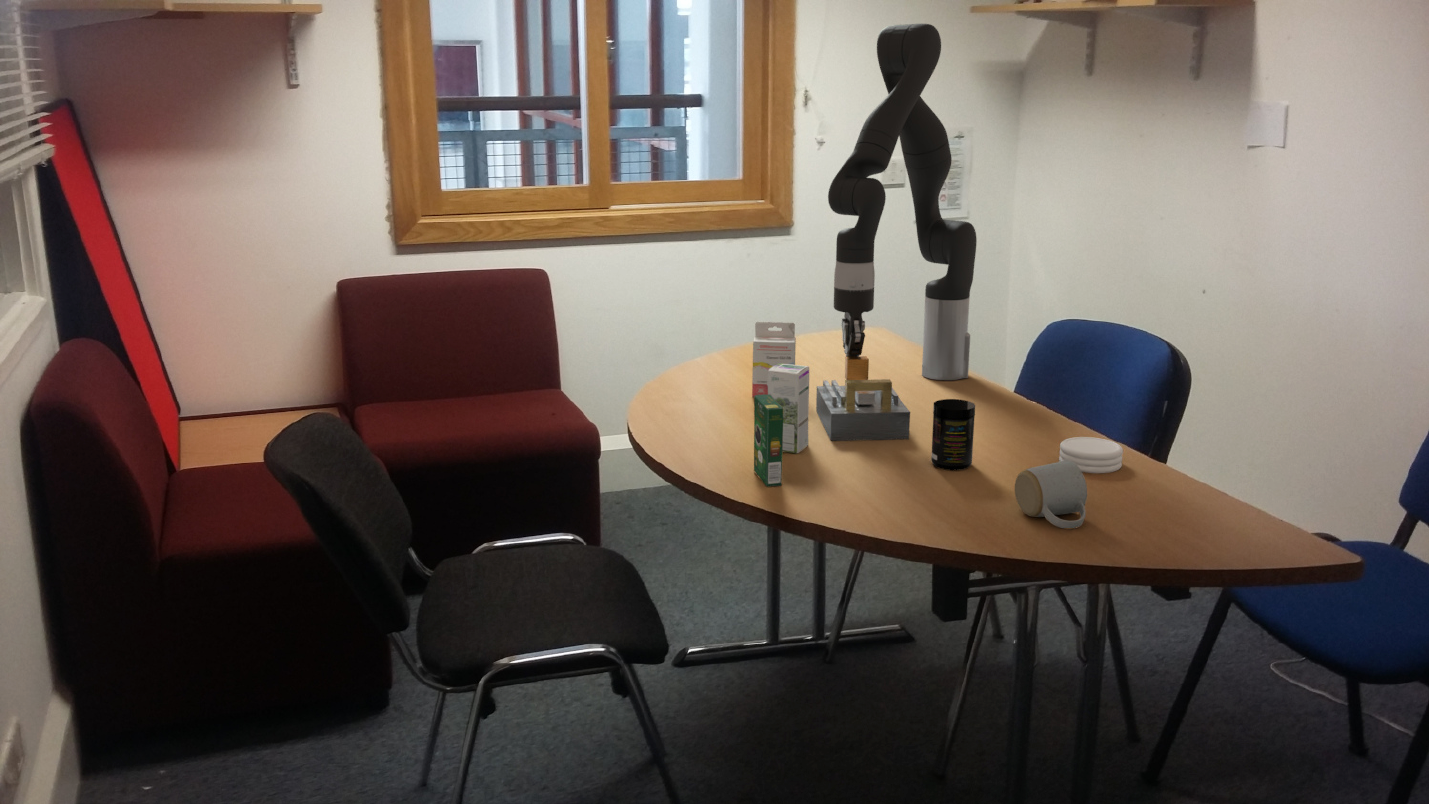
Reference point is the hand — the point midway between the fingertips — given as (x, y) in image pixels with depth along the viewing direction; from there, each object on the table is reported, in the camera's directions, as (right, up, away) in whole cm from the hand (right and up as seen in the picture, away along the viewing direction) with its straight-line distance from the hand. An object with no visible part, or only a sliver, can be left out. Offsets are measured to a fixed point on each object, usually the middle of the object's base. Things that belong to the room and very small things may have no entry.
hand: (851, 374), depth 223 cm
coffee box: (-18, -18, -36) cm, 44 cm away
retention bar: (+1, -4, -8) cm, 9 cm away
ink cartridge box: (-14, -4, +13) cm, 20 cm away
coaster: (+36, -16, -30) cm, 50 cm away
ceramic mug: (+23, -22, -53) cm, 62 cm away
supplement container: (+13, -16, -30) cm, 36 cm away
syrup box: (-14, -14, -21) cm, 28 cm away
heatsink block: (+1, -10, -8) cm, 12 cm away
